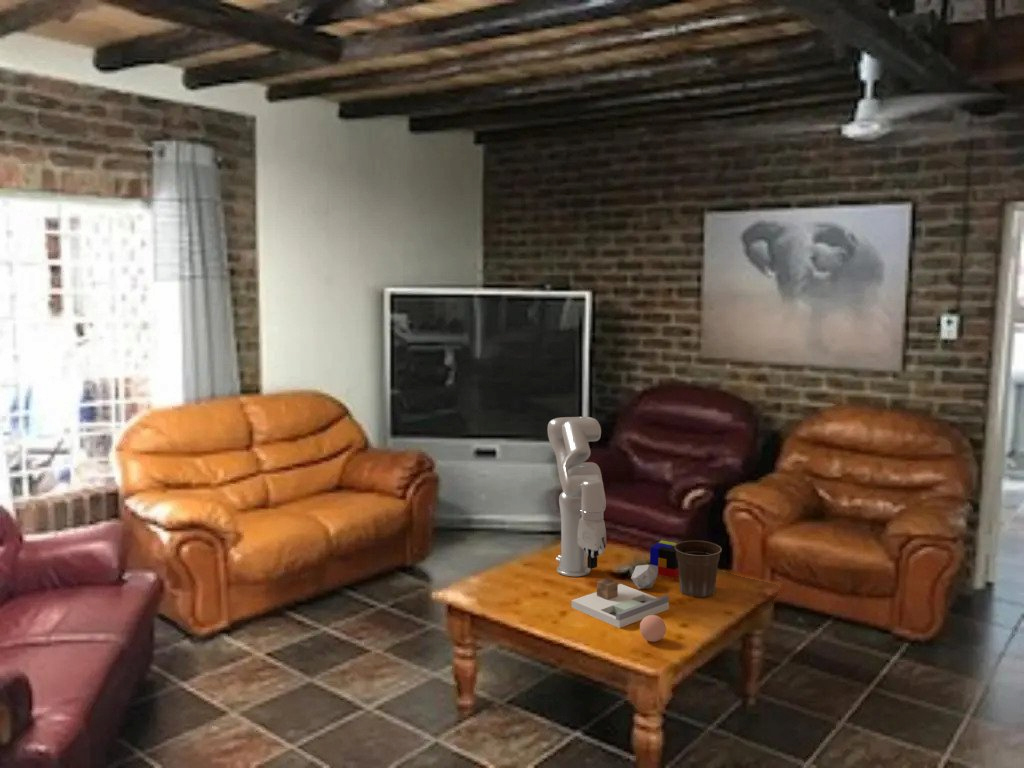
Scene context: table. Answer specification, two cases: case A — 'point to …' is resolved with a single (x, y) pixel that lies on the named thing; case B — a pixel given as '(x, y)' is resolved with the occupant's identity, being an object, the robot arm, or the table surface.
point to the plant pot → (697, 567)
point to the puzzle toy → (664, 559)
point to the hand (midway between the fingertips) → (592, 567)
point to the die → (644, 576)
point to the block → (607, 589)
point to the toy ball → (652, 628)
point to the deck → (621, 606)
